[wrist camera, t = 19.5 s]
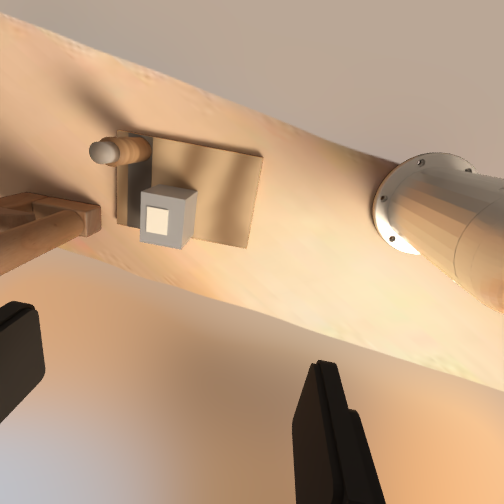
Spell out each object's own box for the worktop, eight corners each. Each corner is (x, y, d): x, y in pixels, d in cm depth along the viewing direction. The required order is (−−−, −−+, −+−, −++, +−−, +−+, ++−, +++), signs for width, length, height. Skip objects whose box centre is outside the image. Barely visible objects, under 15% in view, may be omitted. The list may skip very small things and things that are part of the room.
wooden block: (25, 190, 40) (-153, 230, 23) (102, 205, 40) (-23, 254, 23) (28, 216, 41) (-138, 270, 25) (102, 230, 41) (-14, 294, 25)
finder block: (197, 191, 37) (184, 200, 32) (193, 234, 39) (180, 250, 34) (159, 183, 37) (140, 191, 32) (157, 228, 39) (139, 242, 34)
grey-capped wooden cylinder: (152, 139, 35) (114, 140, 27) (151, 163, 36) (114, 171, 28) (129, 135, 35) (84, 134, 27) (129, 159, 36) (85, 165, 28)
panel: (263, 157, 36) (262, 158, 35) (247, 246, 41) (246, 249, 40) (120, 130, 36) (116, 129, 35) (120, 221, 41) (116, 224, 40)
